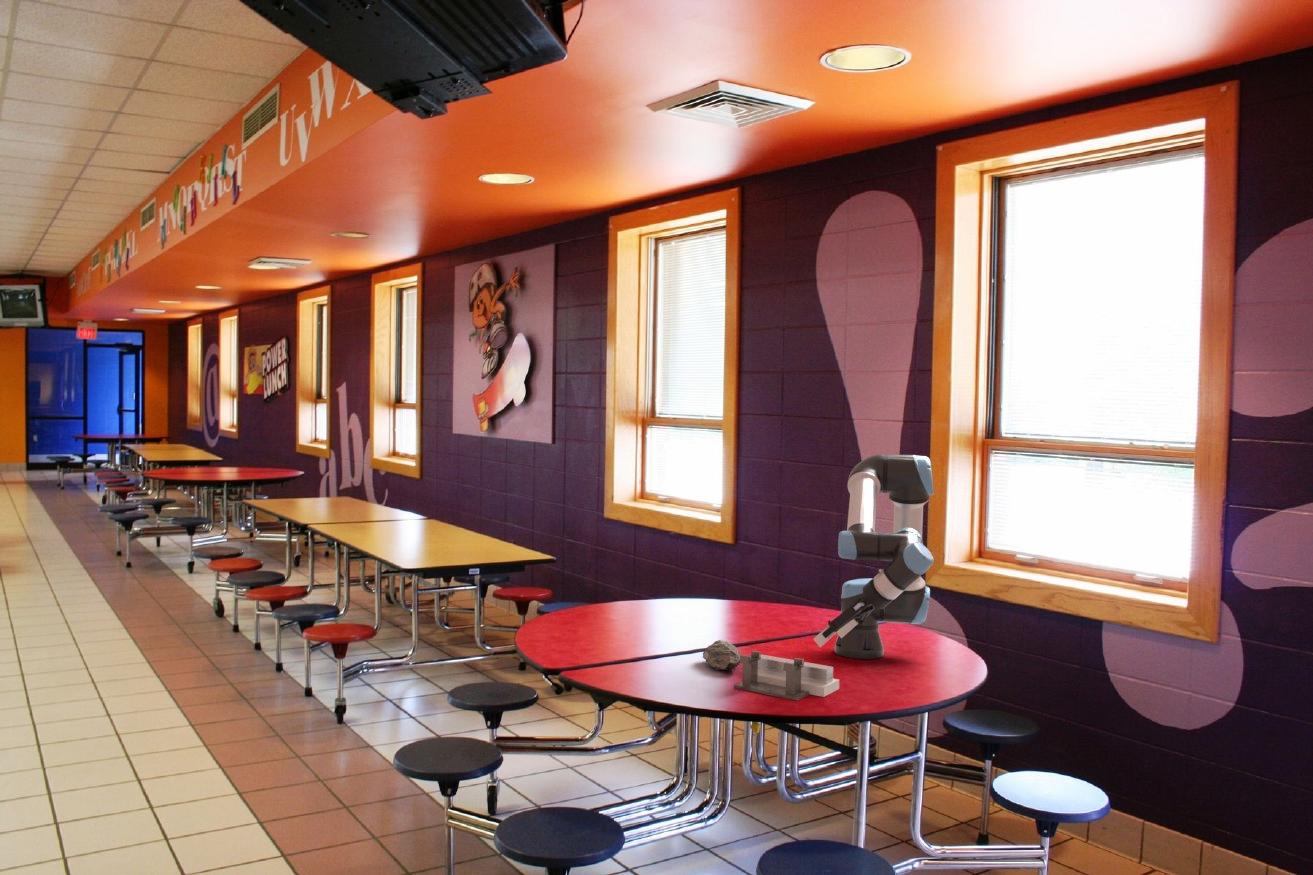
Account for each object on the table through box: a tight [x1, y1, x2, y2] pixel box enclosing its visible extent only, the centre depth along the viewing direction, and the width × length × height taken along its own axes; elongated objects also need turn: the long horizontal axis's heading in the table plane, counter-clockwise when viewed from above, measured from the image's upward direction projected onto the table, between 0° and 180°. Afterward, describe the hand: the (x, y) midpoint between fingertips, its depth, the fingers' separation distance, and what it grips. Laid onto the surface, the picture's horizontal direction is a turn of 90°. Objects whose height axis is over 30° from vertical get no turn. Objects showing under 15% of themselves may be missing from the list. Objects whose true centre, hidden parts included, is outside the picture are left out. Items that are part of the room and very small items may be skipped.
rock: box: [702, 639, 741, 672], centre depth 283 cm, size 18×10×10 cm
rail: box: [758, 654, 834, 685], centre depth 265 cm, size 4×22×4 cm, turn 56°
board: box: [757, 672, 840, 698], centre depth 265 cm, size 10×23×2 cm, turn 56°
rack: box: [733, 650, 810, 702], centre depth 259 cm, size 7×19×9 cm, turn 56°
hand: (827, 638), depth 259 cm, fingers open, 13 cm apart
